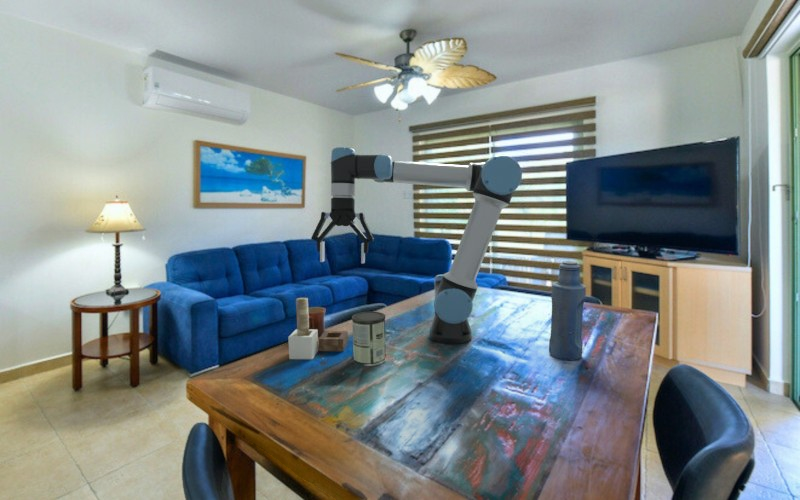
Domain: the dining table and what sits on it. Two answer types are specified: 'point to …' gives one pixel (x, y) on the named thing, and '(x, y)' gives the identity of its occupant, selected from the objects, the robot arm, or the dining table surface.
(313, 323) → the mug
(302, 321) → the dowel
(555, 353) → the bottle
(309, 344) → the white hollow square frame
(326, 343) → the socket block
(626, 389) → the dining table surface
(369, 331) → the coffee can
